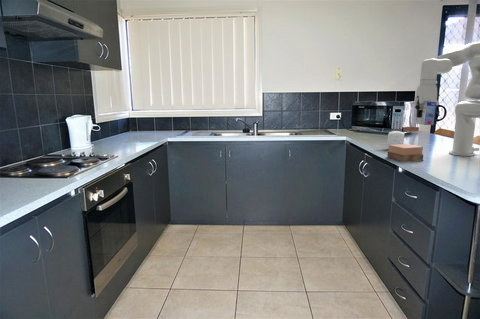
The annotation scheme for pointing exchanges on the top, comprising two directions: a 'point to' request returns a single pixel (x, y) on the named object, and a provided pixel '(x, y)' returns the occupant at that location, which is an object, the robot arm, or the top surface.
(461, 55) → the robot arm
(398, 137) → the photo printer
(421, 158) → the tower base
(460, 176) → the top surface
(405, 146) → the tower top
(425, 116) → the ink cartridge box
